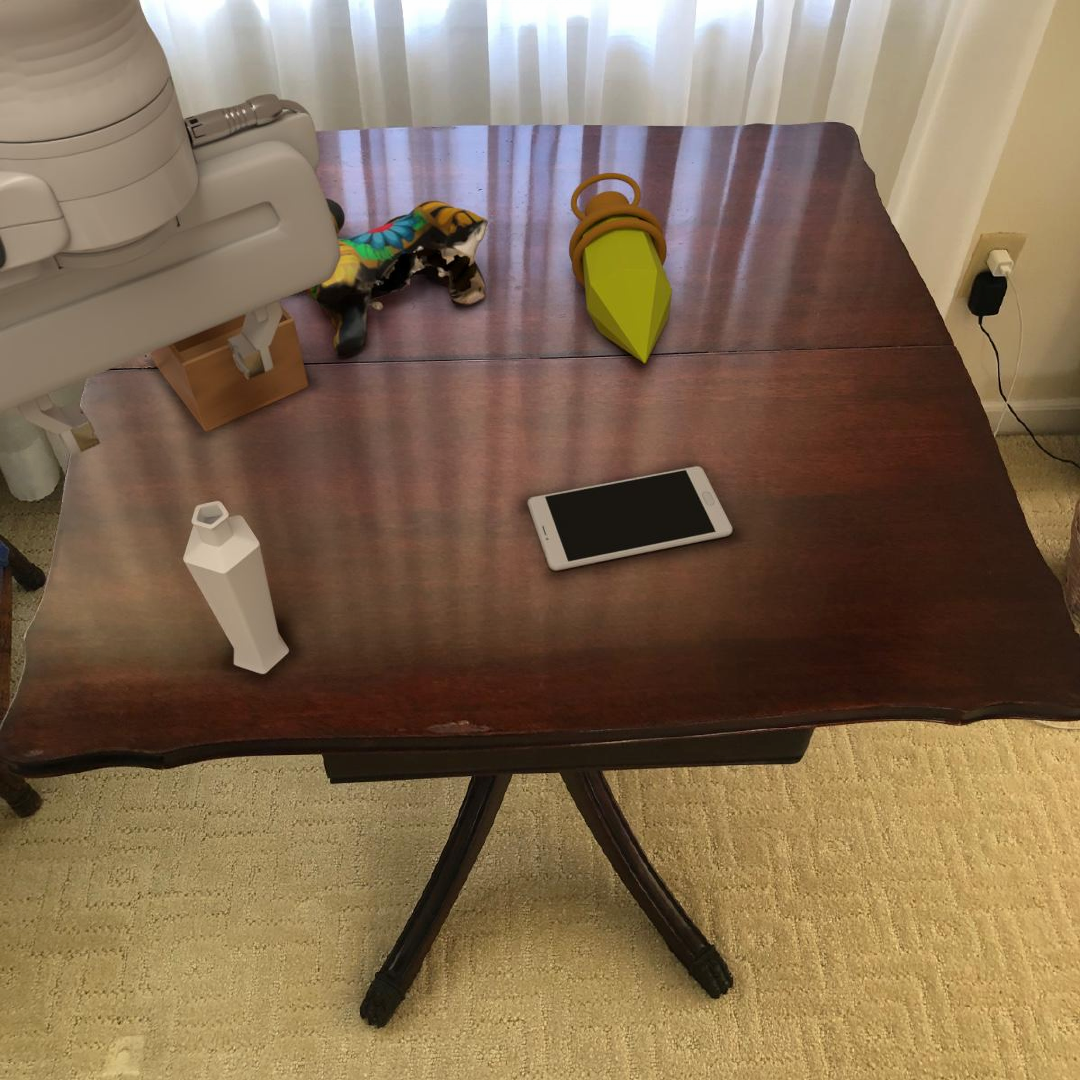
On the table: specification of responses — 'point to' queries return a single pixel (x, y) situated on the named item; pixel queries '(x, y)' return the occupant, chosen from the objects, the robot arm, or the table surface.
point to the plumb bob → (621, 267)
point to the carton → (230, 372)
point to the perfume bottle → (235, 585)
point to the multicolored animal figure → (400, 265)
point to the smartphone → (627, 517)
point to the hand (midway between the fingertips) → (171, 404)
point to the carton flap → (175, 352)
